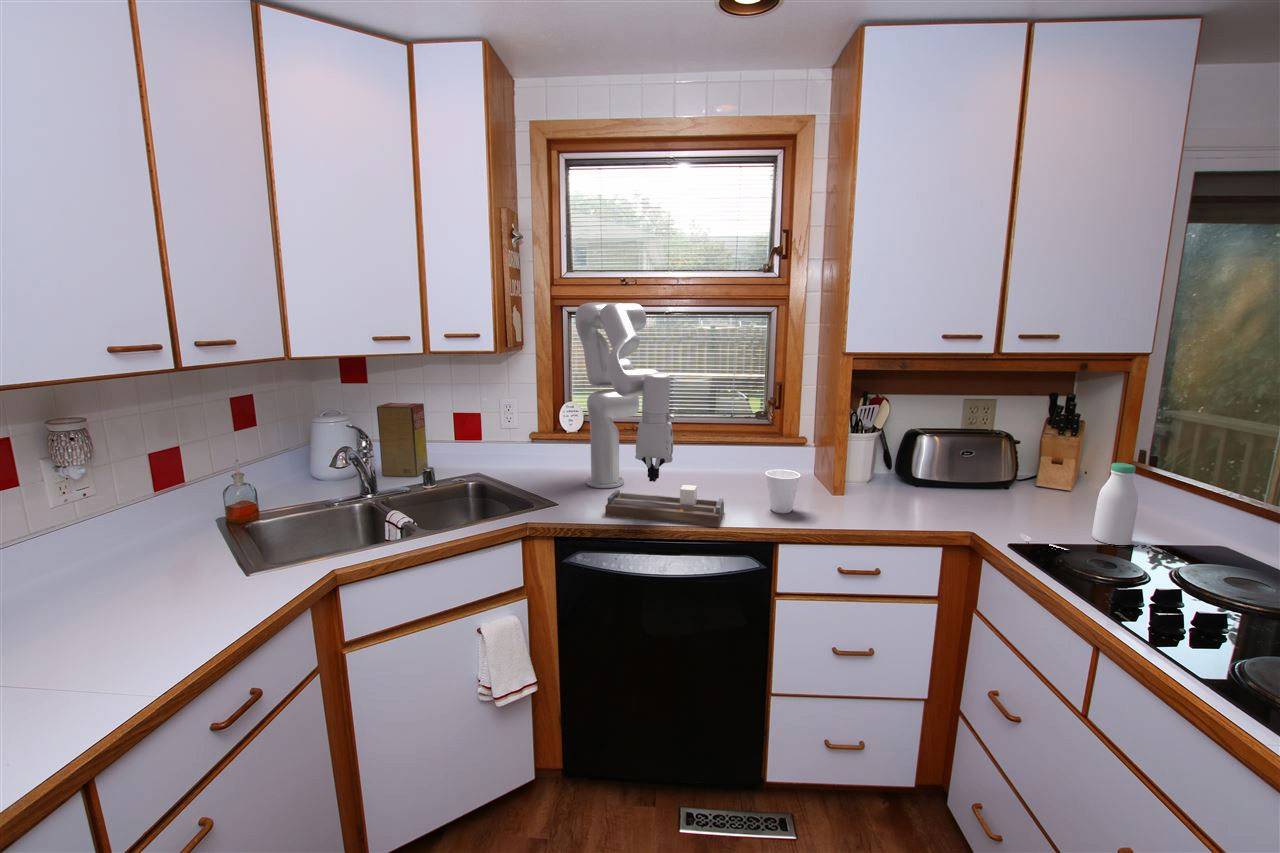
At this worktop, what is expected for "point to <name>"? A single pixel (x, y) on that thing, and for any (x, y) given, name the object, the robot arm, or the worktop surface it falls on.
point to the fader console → (664, 509)
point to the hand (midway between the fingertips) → (653, 480)
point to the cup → (782, 489)
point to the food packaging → (402, 439)
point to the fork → (1031, 538)
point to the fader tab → (688, 495)
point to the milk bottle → (1116, 507)
